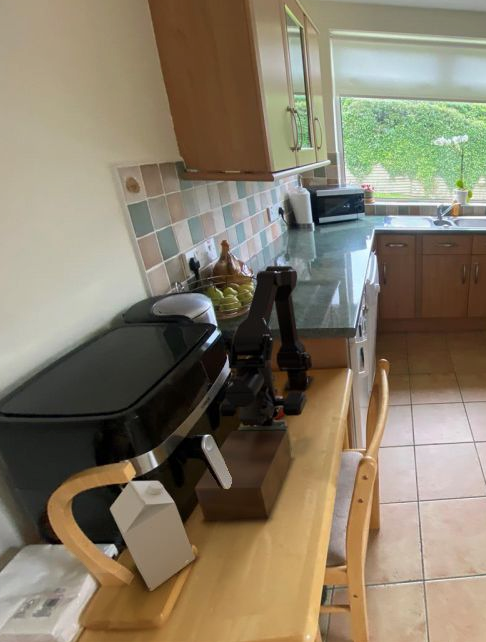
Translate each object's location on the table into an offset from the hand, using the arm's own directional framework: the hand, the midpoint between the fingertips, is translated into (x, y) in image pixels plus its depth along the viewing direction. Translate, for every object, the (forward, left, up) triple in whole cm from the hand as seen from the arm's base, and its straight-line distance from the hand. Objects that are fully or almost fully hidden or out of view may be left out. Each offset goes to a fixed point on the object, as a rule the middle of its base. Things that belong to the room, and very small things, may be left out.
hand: (269, 430), depth 93 cm
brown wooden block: (+13, 0, -4) cm, 14 cm away
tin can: (-12, -4, -4) cm, 13 cm away
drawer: (+7, 0, -4) cm, 8 cm away
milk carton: (+29, -9, -5) cm, 31 cm away
